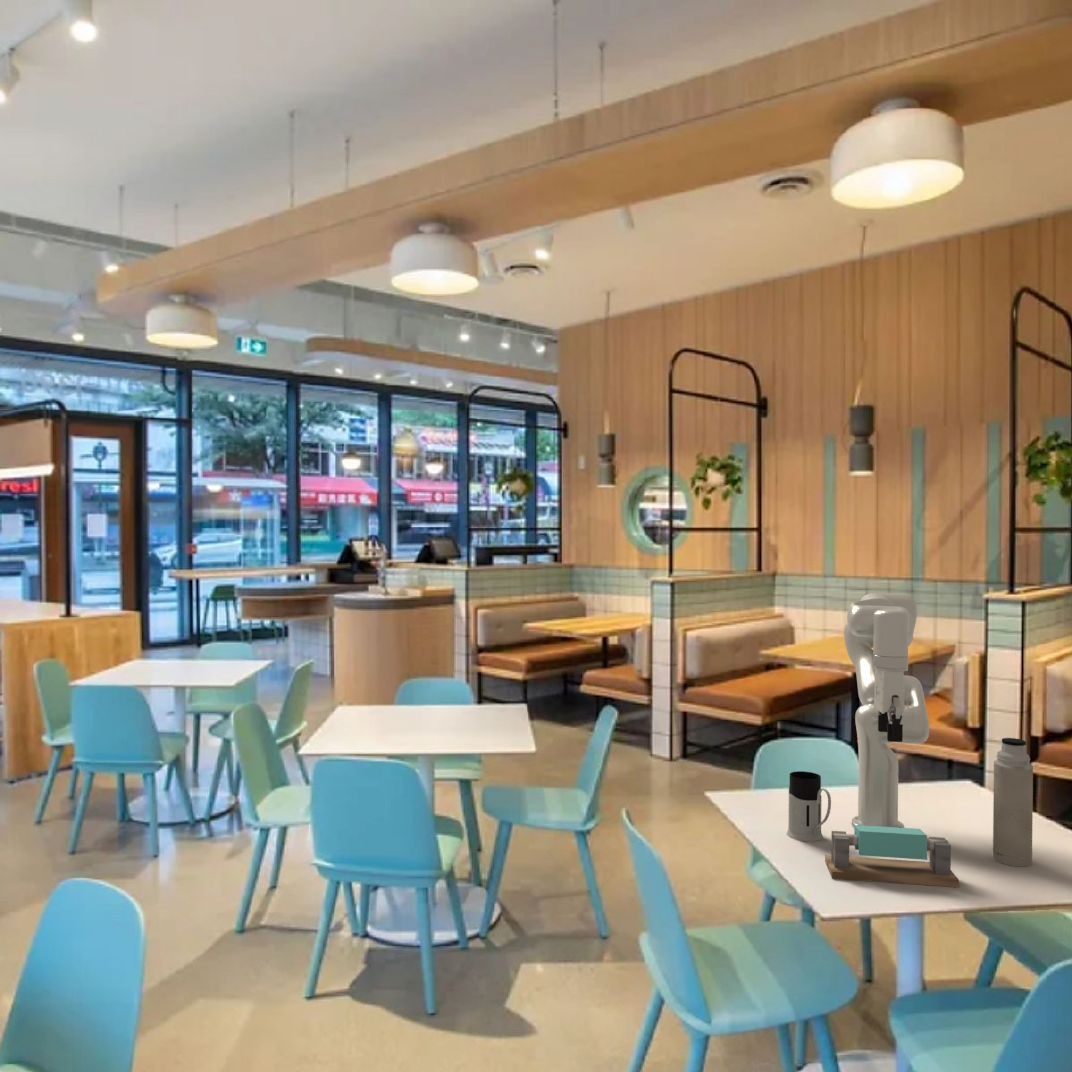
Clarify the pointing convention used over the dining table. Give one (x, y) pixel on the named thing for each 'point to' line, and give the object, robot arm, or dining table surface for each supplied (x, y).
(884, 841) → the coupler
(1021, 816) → the thermos bottle
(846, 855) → the shaft stand
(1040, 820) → the dining table surface
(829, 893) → the dining table surface
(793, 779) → the glass holder
